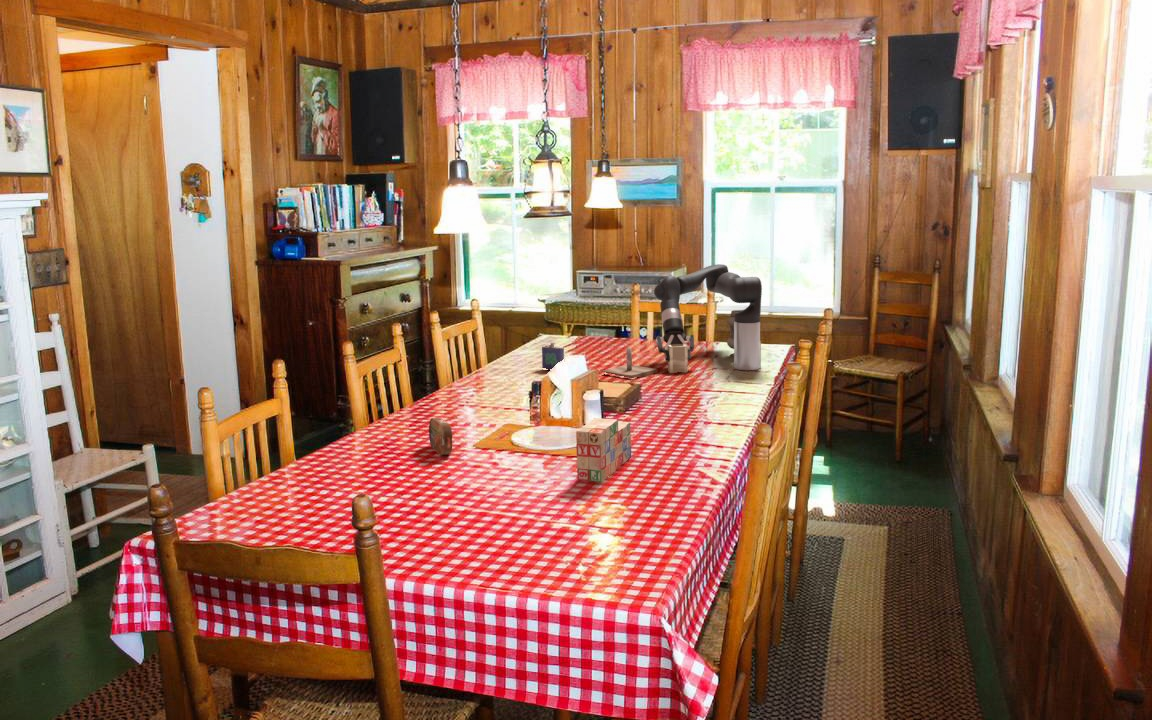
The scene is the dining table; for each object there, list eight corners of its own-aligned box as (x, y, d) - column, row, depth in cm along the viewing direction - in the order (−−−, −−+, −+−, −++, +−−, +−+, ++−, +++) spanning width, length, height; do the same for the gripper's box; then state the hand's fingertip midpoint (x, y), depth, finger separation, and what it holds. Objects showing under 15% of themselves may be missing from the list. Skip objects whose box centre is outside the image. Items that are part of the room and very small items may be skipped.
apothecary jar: (735, 352, 372) (735, 307, 368) (763, 355, 365) (764, 309, 361) (721, 357, 362) (721, 311, 359) (750, 360, 355) (750, 313, 352)
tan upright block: (667, 370, 342) (667, 344, 340) (685, 369, 342) (685, 344, 340) (670, 372, 337) (669, 347, 335) (687, 372, 337) (687, 346, 335)
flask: (565, 370, 346) (564, 342, 344) (561, 372, 344) (560, 343, 342) (544, 369, 351) (543, 340, 349) (540, 370, 348) (539, 342, 346)
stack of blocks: (608, 455, 240) (607, 408, 238) (631, 457, 238) (631, 410, 235) (577, 480, 221) (575, 430, 218) (601, 483, 218) (600, 432, 216)
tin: (428, 445, 254) (426, 415, 252) (439, 443, 255) (438, 413, 253) (443, 459, 240) (441, 427, 239) (455, 457, 241) (453, 426, 240)
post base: (627, 368, 347) (627, 343, 345) (656, 373, 337) (656, 347, 335) (602, 374, 337) (601, 348, 335) (631, 379, 327) (631, 353, 326)
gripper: (690, 328, 350) (696, 365, 341) (652, 329, 349) (657, 367, 340) (693, 316, 344) (699, 353, 334) (654, 317, 343) (659, 355, 333)
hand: (678, 360), depth 337 cm, fingers closed on tan upright block, 6 cm apart
